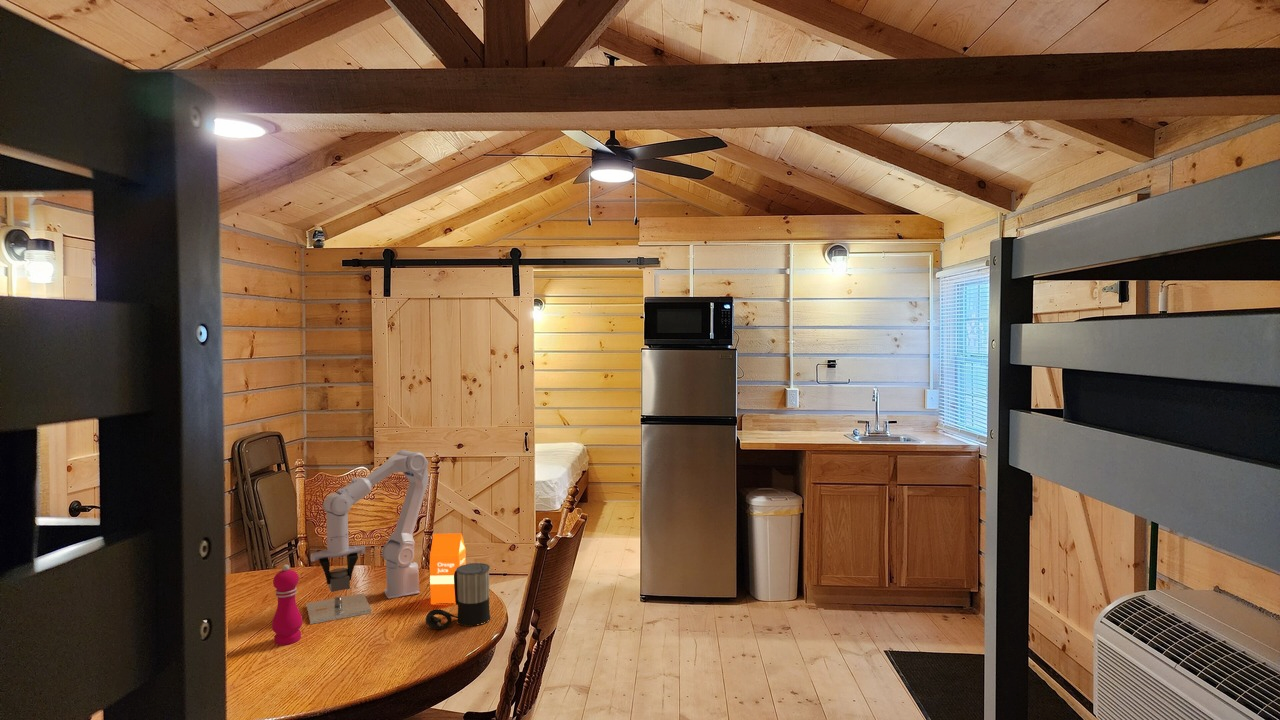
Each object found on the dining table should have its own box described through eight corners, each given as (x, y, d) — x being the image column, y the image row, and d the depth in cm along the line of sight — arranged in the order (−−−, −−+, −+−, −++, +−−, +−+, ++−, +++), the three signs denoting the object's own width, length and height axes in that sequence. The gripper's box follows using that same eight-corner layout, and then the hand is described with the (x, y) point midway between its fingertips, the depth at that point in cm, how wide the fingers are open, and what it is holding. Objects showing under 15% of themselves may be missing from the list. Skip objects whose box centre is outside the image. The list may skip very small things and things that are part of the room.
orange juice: (459, 604, 209) (458, 536, 209) (430, 604, 209) (428, 537, 209) (466, 594, 217) (465, 530, 217) (438, 595, 217) (436, 530, 217)
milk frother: (498, 618, 198) (496, 565, 198) (456, 638, 184) (455, 581, 184) (461, 609, 205) (459, 558, 205) (418, 628, 192) (417, 574, 191)
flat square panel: (363, 596, 218) (363, 585, 217) (371, 612, 204) (371, 600, 203) (306, 606, 210) (306, 594, 210) (310, 624, 196) (310, 611, 196)
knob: (346, 583, 209) (346, 566, 209) (349, 588, 205) (349, 570, 205) (328, 587, 207) (328, 569, 207) (331, 592, 203) (330, 574, 202)
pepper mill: (290, 647, 181) (288, 569, 180) (265, 645, 182) (263, 568, 182) (309, 635, 188) (306, 560, 188) (285, 634, 189) (283, 559, 189)
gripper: (361, 528, 213) (362, 573, 213) (308, 535, 206) (310, 582, 206) (365, 533, 207) (367, 579, 207) (311, 541, 200) (313, 589, 200)
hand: (338, 581), depth 206 cm, fingers closed on knob, 5 cm apart
